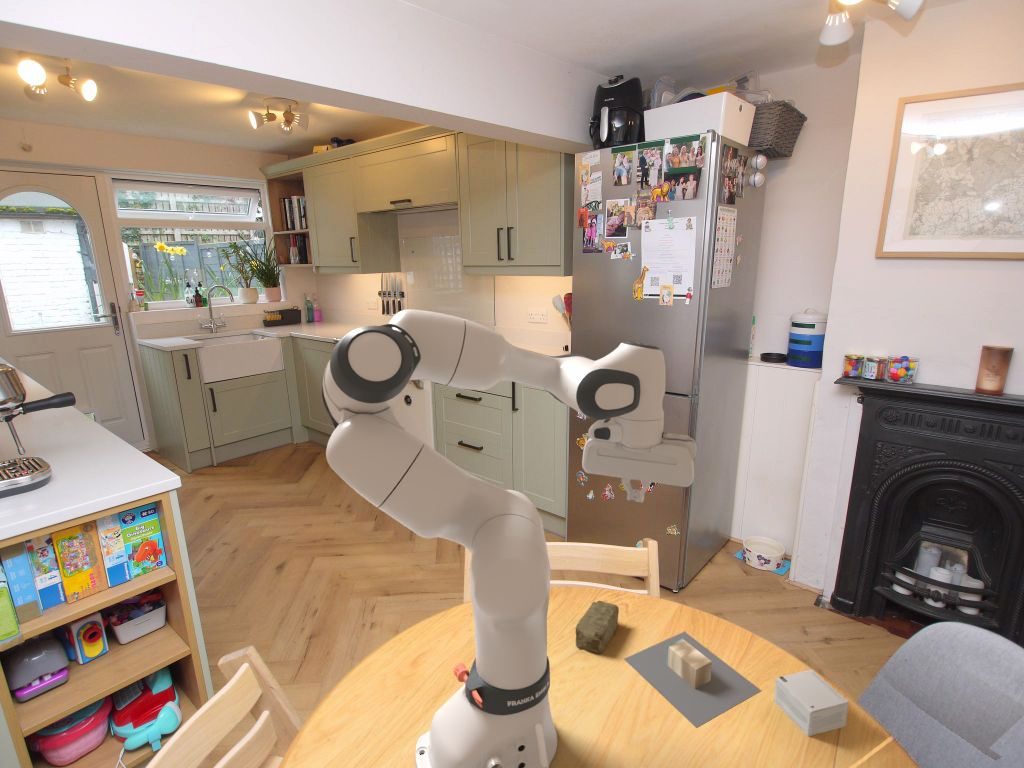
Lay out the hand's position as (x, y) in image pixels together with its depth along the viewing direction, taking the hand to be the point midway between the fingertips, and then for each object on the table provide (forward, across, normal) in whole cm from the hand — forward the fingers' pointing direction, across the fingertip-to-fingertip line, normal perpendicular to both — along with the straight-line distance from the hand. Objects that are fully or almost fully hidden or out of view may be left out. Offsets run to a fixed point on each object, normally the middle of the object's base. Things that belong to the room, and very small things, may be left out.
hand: (635, 500), depth 99 cm
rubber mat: (+31, -12, +4) cm, 33 cm away
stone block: (+32, +7, 0) cm, 32 cm away
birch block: (+29, -14, +6) cm, 32 cm away
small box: (+31, -31, +6) cm, 44 cm away
